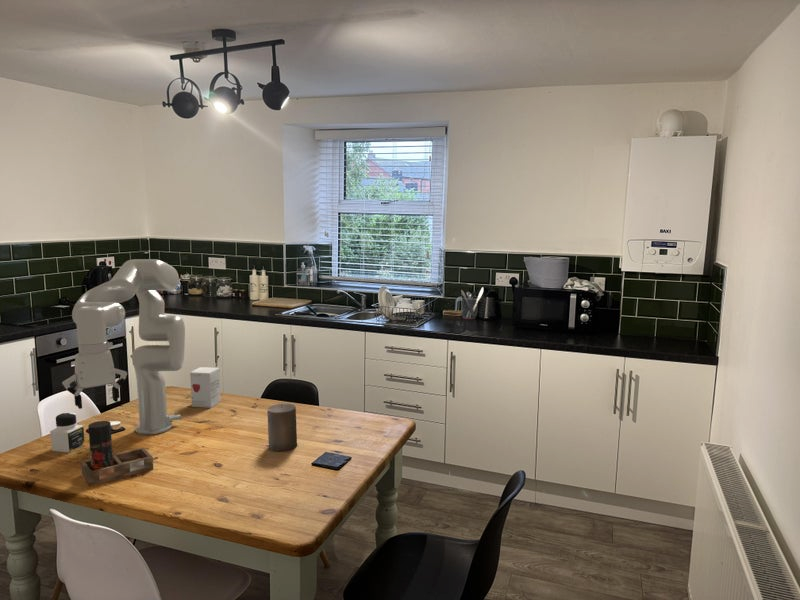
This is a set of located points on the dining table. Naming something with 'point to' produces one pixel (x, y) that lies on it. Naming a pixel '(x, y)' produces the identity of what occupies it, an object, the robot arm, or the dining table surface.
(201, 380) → the supplement box
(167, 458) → the dining table surface
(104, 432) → the deodorant
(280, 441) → the pillar candle
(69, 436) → the medicine bottle
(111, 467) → the divided compartment tray
